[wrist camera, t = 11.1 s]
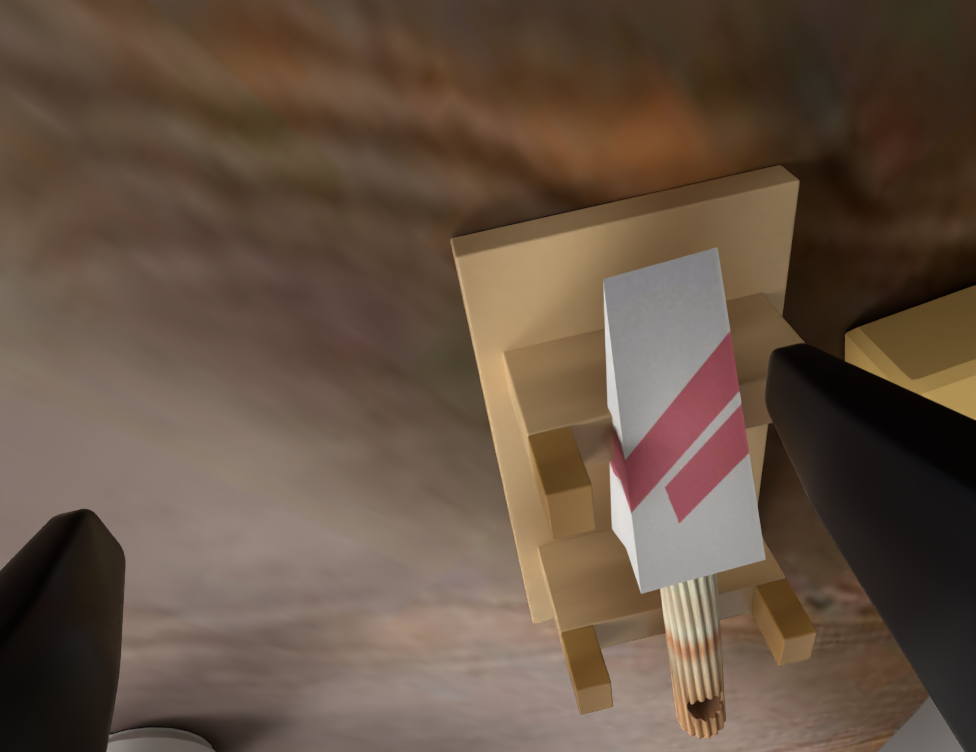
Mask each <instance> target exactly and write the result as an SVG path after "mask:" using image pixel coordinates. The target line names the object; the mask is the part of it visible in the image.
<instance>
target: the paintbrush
mask: <svg viewBox="0 0 976 752" xmlns="http://www.w3.org/2000/svg"><path fill="white" fill-rule="evenodd" d="M603 291H604V319H605V348H606V377H607V405H608V409H609V411H610V412H611V415H612V423H613V445H614V460H611V461H609V462H610V491H611V520H612V530H613V531H614V532H615V534H616V535H617V536H618V538H619V539H620V541H621V542H622V543H623V545H624V546H625V547H626V549H627V552H628V555H629V559H630V562H631V565H632V568H633V571H634V574H635V577H636V580H637V583H638V586H639V589H640V592H641V594H642V593H646V592H650V591H653V590H657V589H660V591H661V600H662V608H663V616H664V624H665V632H666V639H667V647H668V655H669V662H670V670H671V677H672V685H673V693H674V700H675V708H676V716H677V720H678V722H679V723H680V724H681V728H682V729H683V730H684V731H688V733H689V734H690V735H691V736H694V735H696V737H697V738H699V739H701V738H703V737H706V738H710V737H711V735H717V734H718V730H722V729H723V728H724V722H725V721H726V711H725V698H724V681H723V664H722V646H721V631H720V615H719V599H718V583H717V573H719V572H722V571H726V570H730V569H733V568H737V567H740V566H744V565H748V564H751V563H755V562H759V561H762V560H766V558H765V552H764V545H763V539H762V532H761V526H760V519H759V513H758V507H757V500H756V494H755V487H754V481H753V474H752V468H751V461H750V455H749V448H748V442H747V435H746V429H745V422H744V416H743V409H742V403H741V396H740V390H739V384H738V377H737V371H736V364H735V358H734V351H733V345H732V338H731V332H730V325H729V319H728V312H727V306H726V299H725V293H724V286H723V280H722V274H721V267H720V261H719V254H718V248H713V249H710V250H706V251H702V252H699V253H695V254H692V255H688V256H684V257H681V258H677V259H674V260H670V261H666V262H663V263H659V264H656V265H652V266H648V267H645V268H641V269H638V270H634V271H630V272H627V273H623V274H620V275H616V276H612V277H609V278H605V279H603Z"/></svg>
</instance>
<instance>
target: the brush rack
mask: <svg viewBox="0 0 976 752" xmlns="http://www.w3.org/2000/svg"><path fill="white" fill-rule="evenodd" d="M799 184H800V181H799V179H797V178H796V177H795V176H794V175H792V174H791V173H790V172H789V171H787V170H786V169H785V168H784V167H783V166H781V165H777V166H773V167H768V168H764V169H759V170H755V171H750V172H746V173H741V174H737V175H732V176H728V177H723V178H719V179H715V180H710V181H706V182H701V183H697V184H692V185H688V186H683V187H679V188H674V189H670V190H665V191H661V192H656V193H652V194H647V195H643V196H638V197H634V198H629V199H625V200H621V201H616V202H612V203H607V204H603V205H598V206H594V207H589V208H585V209H580V210H576V211H571V212H567V213H562V214H558V215H553V216H549V217H544V218H540V219H536V220H531V221H527V222H522V223H518V224H513V225H509V226H504V227H500V228H495V229H491V230H486V231H482V232H477V233H473V234H468V235H464V236H459V237H455V238H452V239H451V246H452V251H453V255H454V260H455V265H456V269H457V274H458V279H459V283H460V288H461V293H462V297H463V302H464V307H465V311H466V316H467V321H468V325H469V330H470V335H471V339H472V344H473V349H474V353H475V358H476V363H477V367H478V372H479V377H480V381H481V386H482V391H483V395H484V400H485V405H486V409H487V414H488V419H489V423H490V428H491V433H492V437H493V442H494V447H495V451H496V456H497V460H498V465H499V470H500V474H501V479H502V484H503V488H504V493H505V498H506V502H507V507H508V512H509V516H510V521H511V526H512V530H513V535H514V540H515V544H516V549H517V554H518V558H519V563H520V568H521V572H522V577H523V582H524V586H525V591H526V596H527V600H528V605H529V609H530V613H531V617H532V621H533V623H534V624H536V623H540V622H544V621H548V620H553V619H555V623H556V627H557V631H558V634H559V638H560V642H561V645H562V649H563V653H564V656H565V660H566V664H567V668H568V671H569V675H570V679H571V683H572V686H573V690H574V694H575V698H576V701H577V705H578V709H579V712H580V714H581V715H582V714H586V713H590V712H594V711H598V710H602V709H606V708H611V707H613V700H612V689H611V681H610V678H609V674H608V671H607V668H606V665H605V662H604V659H603V655H602V652H601V648H605V647H609V646H613V645H617V644H622V643H626V642H630V641H634V640H638V639H642V638H646V637H650V636H655V635H659V634H663V633H666V632H665V624H664V616H663V608H662V600H661V591H660V589H657V590H653V591H650V592H646V593H642V594H641V592H640V589H639V586H638V583H637V580H636V577H635V574H634V571H633V568H632V565H631V562H630V559H629V555H628V552H627V549H626V547H625V546H624V545H623V543H622V542H621V541H620V539H619V538H618V536H617V535H616V534H615V532H614V531H613V530H612V520H611V491H610V462H609V461H611V460H614V445H613V423H612V415H611V412H610V411H609V409H608V405H607V377H606V348H605V319H604V291H603V279H605V278H609V277H612V276H616V275H620V274H623V273H627V272H630V271H634V270H638V269H641V268H645V267H648V266H652V265H656V264H659V263H663V262H666V261H670V260H674V259H677V258H681V257H684V256H688V255H692V254H695V253H699V252H702V251H706V250H710V249H713V248H718V254H719V261H720V267H721V274H722V280H723V286H724V293H725V299H726V306H727V312H728V319H729V325H730V332H731V338H732V345H733V351H734V358H735V364H736V371H737V377H738V384H739V390H740V396H741V403H742V409H743V416H744V422H745V429H746V435H747V442H748V448H749V455H750V461H751V468H752V474H753V481H754V487H755V494H756V500H757V507H758V499H759V492H760V484H761V476H762V468H763V461H764V453H765V445H766V438H767V430H768V424H769V423H773V422H772V420H771V418H770V416H769V414H768V411H767V408H766V404H765V388H766V379H767V371H768V363H769V357H770V354H771V352H772V351H773V350H775V349H776V348H780V347H784V346H788V345H793V344H797V343H805V342H804V341H803V340H802V339H801V338H800V337H799V335H798V334H797V333H796V332H795V331H794V330H793V328H792V327H791V326H790V325H789V324H788V323H787V322H786V320H785V319H784V318H783V317H782V315H783V307H784V299H785V292H786V284H787V276H788V269H789V261H790V253H791V246H792V238H793V230H794V223H795V215H796V207H797V199H798V192H799ZM805 344H806V343H805ZM762 539H763V538H762ZM763 545H764V552H765V558H766V560H762V561H759V562H755V563H751V564H748V565H744V566H740V567H737V568H733V569H730V570H726V571H722V572H719V573H717V583H718V599H719V615H720V620H721V619H725V618H729V617H733V616H737V615H741V614H746V613H750V612H752V615H753V617H754V619H755V621H756V623H757V625H758V627H759V629H760V631H761V633H762V635H763V636H764V638H765V640H766V642H767V644H768V646H769V648H770V650H771V652H772V654H773V656H774V658H775V660H776V662H777V664H778V665H779V666H781V665H785V664H789V663H793V662H798V661H802V660H806V659H809V658H811V654H812V650H813V646H814V642H815V638H816V634H817V631H816V629H815V627H814V626H813V624H812V622H811V621H810V619H809V617H808V615H807V614H806V612H805V610H804V609H803V607H802V605H801V603H800V602H799V600H798V598H797V597H796V595H795V593H794V591H793V590H792V588H791V586H790V584H789V583H788V581H787V580H786V577H785V575H784V574H783V572H782V570H781V569H780V567H779V565H778V563H777V562H776V560H775V558H774V557H773V555H772V553H771V551H770V550H769V548H768V546H767V544H766V543H765V541H764V539H763Z"/></svg>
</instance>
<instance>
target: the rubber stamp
mask: <svg viewBox="0 0 976 752" xmlns="http://www.w3.org/2000/svg"><path fill="white" fill-rule="evenodd" d="M845 361H846V362H848V363H851V364H853V365H855V366H857V367H859V368H862V369H864V370H866V371H868V372H870V373H873V374H875V375H877V376H879V377H882V378H884V379H886V380H888V381H890V382H893V383H895V384H897V385H899V386H901V387H904V388H906V389H908V390H910V391H912V392H915V393H917V394H919V395H921V396H923V397H926V398H928V399H930V400H932V401H934V402H937V403H939V404H941V405H943V406H946V407H948V408H950V409H952V410H954V411H957V412H959V413H961V414H963V415H965V416H968V417H970V418H972V419H974V420H976V285H975V286H972V287H969V288H966V289H963V290H961V291H958V292H955V293H952V294H949V295H947V296H944V297H941V298H938V299H935V300H933V301H930V302H927V303H924V304H921V305H919V306H916V307H913V308H910V309H907V310H905V311H902V312H899V313H896V314H893V315H891V316H888V317H885V318H882V319H879V320H877V321H874V322H871V323H868V324H865V325H863V326H860V327H857V328H854V329H853V330H851V331H849V332H847V333H845Z"/></svg>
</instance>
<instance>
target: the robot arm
mask: <svg viewBox="0 0 976 752" xmlns="http://www.w3.org/2000/svg"><path fill="white" fill-rule="evenodd" d="M765 404H766V408H767V411H768V414H769V416H770V418H771V420H772V422H773V424H774V427H775V429H776V431H777V433H778V435H779V437H780V439H781V441H782V444H783V446H784V448H785V450H786V452H787V454H788V456H789V458H790V461H791V463H792V465H793V467H794V469H795V471H796V473H797V475H798V478H799V480H800V482H801V484H802V486H803V488H804V490H805V492H806V494H807V496H808V498H809V500H810V502H811V504H812V506H813V508H814V510H815V512H816V513H817V515H818V517H819V518H820V520H821V522H822V524H823V525H824V527H825V528H826V530H827V532H828V533H829V535H830V536H831V538H832V540H833V541H834V543H835V544H836V546H837V548H838V549H839V551H840V552H841V554H842V556H843V557H844V559H845V560H846V562H847V564H848V565H849V567H850V568H851V570H852V572H853V573H854V575H855V576H856V578H857V580H858V581H859V583H860V585H861V586H862V588H863V589H864V591H865V593H866V594H867V596H868V597H869V599H870V601H871V602H872V604H873V605H874V607H875V609H876V610H877V612H878V613H879V615H880V617H881V618H882V620H883V621H884V623H885V625H886V626H887V628H888V629H889V631H890V633H891V634H892V636H893V638H894V639H895V641H896V642H897V644H898V646H899V647H900V649H901V650H902V652H903V654H904V655H905V657H906V658H907V660H908V662H909V663H910V665H911V666H912V668H913V670H914V671H915V673H916V674H917V676H918V678H919V679H920V681H921V682H922V684H923V686H924V687H925V689H926V690H927V692H928V694H929V695H930V697H931V699H932V700H933V702H934V703H935V705H936V707H937V708H938V710H939V711H940V713H941V715H942V716H943V718H944V719H945V721H946V722H947V724H948V726H949V727H950V729H951V730H952V732H953V734H954V735H955V737H956V739H957V740H958V742H959V743H960V745H961V747H962V748H963V750H964V752H976V420H974V419H972V418H970V417H968V416H965V415H963V414H961V413H959V412H957V411H954V410H952V409H950V408H948V407H946V406H943V405H941V404H939V403H937V402H934V401H932V400H930V399H928V398H926V397H923V396H921V395H919V394H917V393H915V392H912V391H910V390H908V389H906V388H904V387H901V386H899V385H897V384H895V383H893V382H890V381H888V380H886V379H884V378H882V377H879V376H877V375H875V374H873V373H870V372H868V371H866V370H864V369H862V368H859V367H857V366H855V365H853V364H851V363H848V362H846V361H844V360H842V359H840V358H837V357H835V356H833V355H831V354H829V353H826V352H824V351H822V350H820V349H817V348H815V347H813V346H811V345H808V344H805V343H797V344H793V345H788V346H784V347H780V348H776V349H775V350H773V351H772V352H771V354H770V357H769V363H768V371H767V379H766V388H765ZM124 584H125V556H124V552H123V550H122V547H121V546H120V544H119V543H118V541H117V540H116V539H115V538H114V536H113V535H112V534H111V533H110V531H109V530H108V529H107V528H106V526H105V525H104V524H103V523H102V521H101V520H100V519H99V517H98V516H97V515H96V514H95V513H94V512H93V511H91V510H88V509H80V510H76V511H72V512H68V513H63V514H59V515H57V516H55V517H53V518H52V519H50V520H49V521H48V522H47V523H46V524H45V525H44V526H43V527H42V528H41V530H40V531H39V532H38V533H37V534H36V535H35V536H34V537H33V538H32V539H31V540H30V541H29V542H28V543H27V544H26V545H25V546H24V547H23V548H22V549H21V550H20V551H19V552H18V553H17V554H16V555H15V556H14V557H13V558H12V559H11V560H10V561H9V562H8V563H7V564H6V566H5V567H4V568H3V569H2V570H1V571H0V752H107V747H108V741H109V735H110V729H111V723H112V717H113V711H114V705H115V699H116V693H117V686H118V679H119V671H120V659H121V643H122V623H123V604H124Z"/></svg>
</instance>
